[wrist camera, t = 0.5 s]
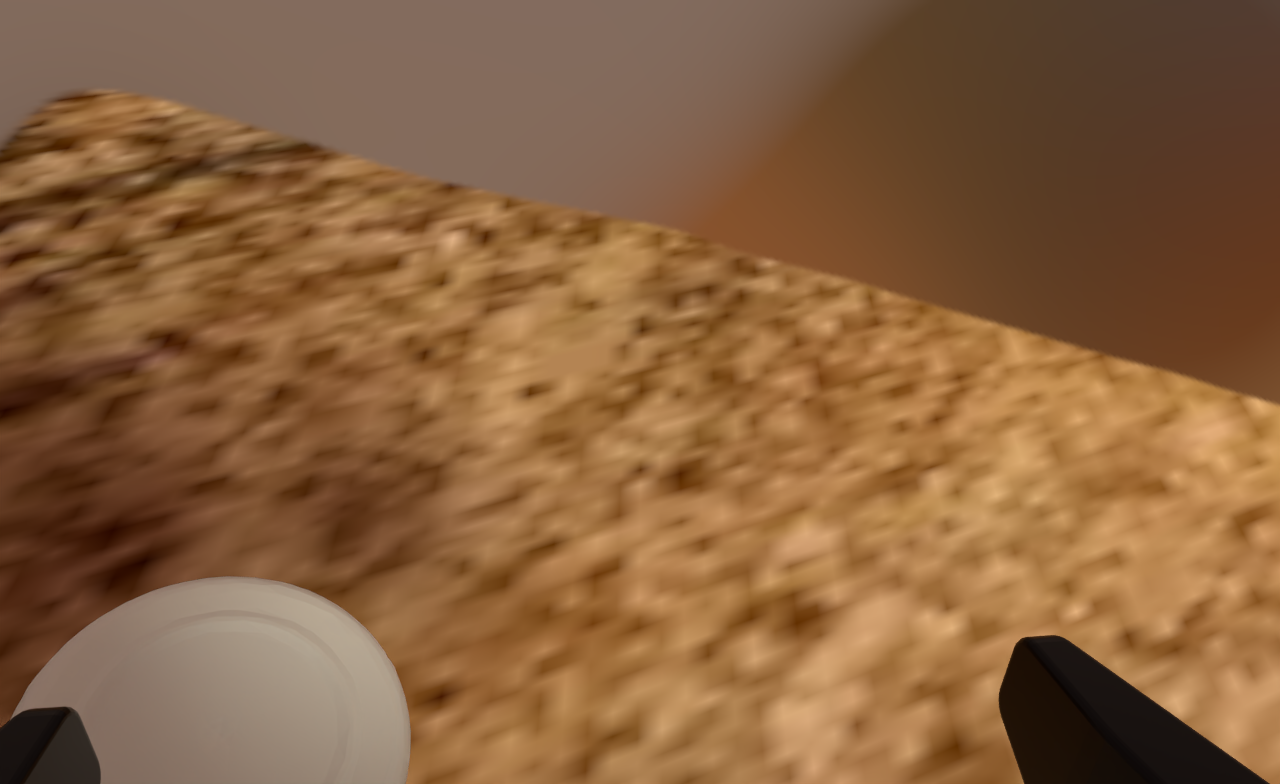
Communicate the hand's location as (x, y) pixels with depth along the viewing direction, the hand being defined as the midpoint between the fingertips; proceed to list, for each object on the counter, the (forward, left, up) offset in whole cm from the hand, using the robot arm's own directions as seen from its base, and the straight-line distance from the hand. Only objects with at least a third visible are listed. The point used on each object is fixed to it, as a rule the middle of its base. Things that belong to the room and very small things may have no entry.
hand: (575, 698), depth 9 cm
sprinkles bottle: (+1, +3, -17) cm, 17 cm away
